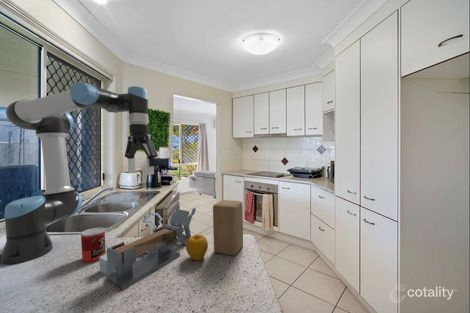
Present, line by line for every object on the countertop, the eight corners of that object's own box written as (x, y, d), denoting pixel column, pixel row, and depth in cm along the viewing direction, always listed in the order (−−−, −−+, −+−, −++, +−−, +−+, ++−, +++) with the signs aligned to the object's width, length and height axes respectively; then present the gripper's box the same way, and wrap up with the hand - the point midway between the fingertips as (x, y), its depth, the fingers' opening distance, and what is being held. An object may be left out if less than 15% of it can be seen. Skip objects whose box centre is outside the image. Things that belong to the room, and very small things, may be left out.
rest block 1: (99, 270, 71) (99, 256, 71) (111, 265, 75) (111, 251, 75) (106, 275, 69) (106, 260, 68) (118, 269, 72) (118, 255, 72)
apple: (184, 255, 81) (183, 233, 80) (205, 250, 84) (204, 230, 84) (188, 266, 73) (187, 242, 73) (210, 260, 76) (210, 238, 76)
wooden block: (213, 252, 82) (211, 204, 81) (223, 242, 91) (222, 199, 91) (235, 257, 78) (234, 207, 78) (244, 245, 88) (243, 200, 87)
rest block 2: (141, 250, 85) (141, 239, 85) (149, 247, 88) (149, 235, 88) (148, 254, 82) (148, 242, 82) (157, 249, 86) (156, 238, 85)
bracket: (196, 239, 95) (196, 208, 94) (180, 248, 86) (179, 214, 86) (178, 233, 102) (177, 204, 101) (161, 241, 93) (160, 209, 93)
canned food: (94, 264, 75) (92, 235, 75) (76, 262, 77) (75, 234, 77) (110, 253, 83) (109, 227, 83) (94, 252, 85) (93, 226, 84)
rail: (114, 260, 65) (114, 249, 65) (165, 237, 82) (164, 228, 82) (120, 263, 63) (120, 252, 63) (171, 239, 80) (170, 230, 80)
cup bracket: (105, 279, 66) (104, 247, 66) (163, 249, 85) (162, 224, 85) (122, 290, 61) (120, 256, 60) (179, 256, 80) (179, 229, 80)
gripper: (114, 126, 89) (116, 173, 90) (149, 120, 76) (151, 176, 76) (131, 127, 95) (132, 171, 96) (165, 122, 82) (167, 174, 83)
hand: (140, 173), depth 86 cm, fingers open, 13 cm apart
